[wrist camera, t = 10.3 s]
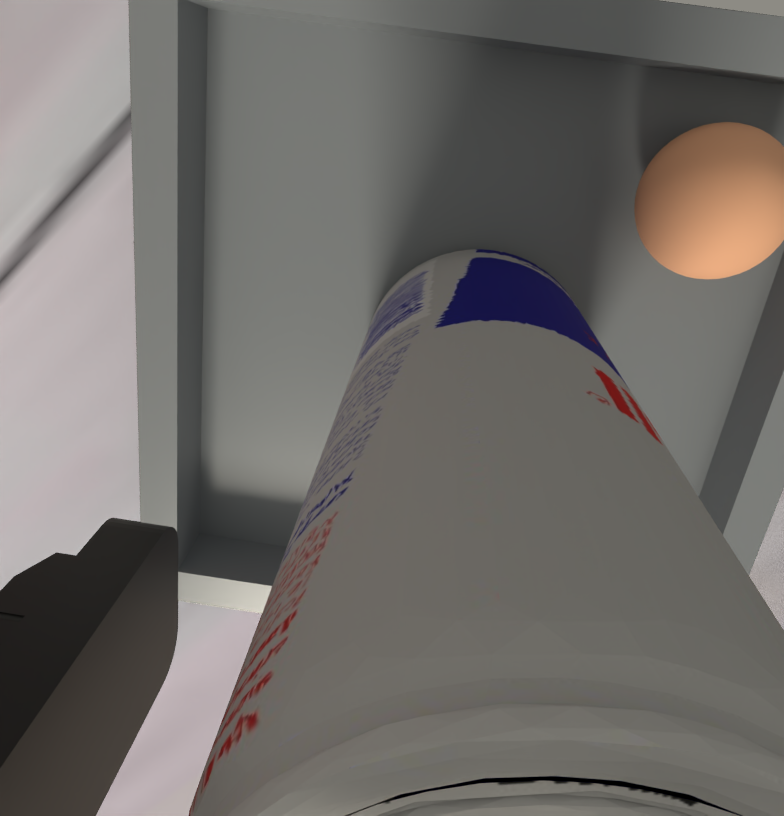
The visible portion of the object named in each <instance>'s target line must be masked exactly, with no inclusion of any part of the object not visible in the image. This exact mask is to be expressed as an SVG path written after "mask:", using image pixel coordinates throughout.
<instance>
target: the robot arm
mask: <svg viewBox="0 0 784 816" xmlns="http://www.w3.org/2000/svg"><path fill="white" fill-rule="evenodd" d="M177 632H178V535H177V531H176V530H175V528H174V527H169V526H163V525H156V524H150V523H143V522H137V521H130V520H124V519H118V518H111V519H109V520H107V521H106V522H105V523H104V524H103V525H102V526H101V527H100V528H99V530H98V531H97V532H96V533H95V534H94V535H93V537H92V538H91V539H90V540H89V541H88V542H87V544H86V545H85V546H84V547H83V548H82V550H81V551H80V552H79V553H78V554H77V555H76V556H75V555H68V554H62V553H55V554H53V555H51V556H50V557H48V558H46V559H44V560H43V561H41V562H39V563H37V564H36V565H34V566H32V567H30V568H28V569H27V570H25V571H23V572H21V573H20V574H18V575H16V576H14V577H13V578H12V579H11V580H10V581H9V582H8V583H7V584H6V586H5V587H4V588H3V589H2V590H1V591H0V816H96V814H97V812H98V810H99V808H100V806H101V804H102V802H103V800H104V798H105V796H106V795H107V793H108V791H109V789H110V787H111V785H112V783H113V781H114V779H115V777H116V775H117V773H118V771H119V769H120V767H121V765H122V763H123V761H124V759H125V757H126V755H127V753H128V751H129V750H130V748H131V746H132V744H133V742H134V740H135V738H136V736H137V734H138V732H139V730H140V728H141V726H142V724H143V722H144V720H145V718H146V716H147V714H148V712H149V710H150V708H151V706H152V705H153V703H154V701H155V699H156V697H157V695H158V693H159V691H160V689H161V687H162V685H163V683H164V681H165V679H166V676H167V674H168V671H169V668H170V665H171V662H172V659H173V655H174V651H175V646H176V640H177Z"/></svg>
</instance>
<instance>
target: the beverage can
mask: <svg viewBox="0 0 784 816" xmlns="http://www.w3.org/2000/svg"><path fill="white" fill-rule="evenodd" d="M189 816H784V630H783V629H782V627H781V625H780V624H779V622H778V621H777V619H776V618H775V616H774V615H773V613H772V611H771V610H770V608H769V607H768V605H767V604H766V602H765V600H764V599H763V597H762V596H761V594H760V593H759V591H758V590H757V588H756V586H755V585H754V583H753V582H752V580H751V579H750V577H749V575H748V574H747V572H746V571H745V569H744V568H743V566H742V564H741V563H740V561H739V560H738V558H737V557H736V555H735V554H734V552H733V550H732V549H731V547H730V546H729V544H728V543H727V541H726V539H725V538H724V536H723V535H722V533H721V532H720V530H719V528H718V527H717V525H716V524H715V522H714V521H713V519H712V518H711V516H710V514H709V513H708V511H707V510H706V508H705V507H704V505H703V503H702V502H701V500H700V499H699V497H698V496H697V494H696V492H695V491H694V489H693V488H692V486H691V485H690V483H689V482H688V480H687V478H686V477H685V475H684V474H683V472H682V471H681V469H680V467H679V466H678V464H677V463H676V461H675V460H674V458H673V457H672V455H671V453H670V452H669V450H668V449H667V447H666V446H665V444H664V442H663V441H662V439H661V438H660V436H659V435H658V433H657V431H656V430H655V428H654V427H653V425H652V424H651V422H650V421H649V419H648V417H647V416H646V414H645V413H644V411H643V410H642V408H641V406H640V405H639V403H638V402H637V400H636V399H635V397H634V395H633V394H632V392H631V391H630V389H629V388H628V386H627V385H626V383H625V381H624V380H623V378H622V377H621V375H620V374H619V372H618V370H617V369H616V367H615V366H614V364H613V363H612V361H611V360H610V358H609V356H608V355H607V353H606V352H605V350H604V349H603V347H602V345H601V344H600V342H599V341H598V339H597V338H596V336H595V334H594V333H593V331H592V330H591V328H590V327H589V325H588V324H587V322H586V320H585V319H584V317H583V316H582V314H581V313H580V311H579V309H578V308H577V306H576V305H575V303H574V302H573V300H572V299H571V297H570V296H569V294H568V293H567V292H566V290H565V289H564V288H563V287H562V286H561V285H560V283H559V282H558V281H557V280H556V279H555V278H553V277H552V276H551V275H550V274H549V273H548V272H546V271H545V270H543V269H542V268H540V267H539V266H537V265H536V264H534V263H532V262H530V261H528V260H526V259H524V258H521V257H519V256H516V255H513V254H509V253H506V252H501V251H495V250H485V249H471V250H462V251H455V252H451V253H447V254H443V255H440V256H438V257H435V258H433V259H430V260H428V261H426V262H424V263H422V264H420V265H418V266H417V267H415V268H414V269H412V270H411V271H409V272H408V273H407V274H406V275H404V276H403V277H402V278H400V279H399V280H398V282H397V283H396V284H395V285H394V286H393V287H392V288H391V289H390V290H389V291H388V292H387V294H386V295H385V296H384V298H383V299H382V301H381V302H380V304H379V306H378V308H377V310H376V311H375V313H374V316H373V318H372V321H371V323H370V326H369V328H368V331H367V334H366V336H365V339H364V342H363V345H362V347H361V350H360V353H359V355H358V358H357V361H356V363H355V366H354V369H353V371H352V374H351V377H350V379H349V382H348V385H347V387H346V390H345V393H344V395H343V398H342V401H341V404H340V406H339V409H338V412H337V414H336V417H335V420H334V422H333V425H332V428H331V430H330V433H329V436H328V438H327V441H326V444H325V446H324V449H323V452H322V454H321V457H320V460H319V462H318V465H317V468H316V471H315V473H314V476H313V479H312V481H311V484H310V487H309V489H308V492H307V495H306V497H305V500H304V503H303V505H302V508H301V511H300V513H299V516H298V519H297V521H296V524H295V527H294V530H293V532H292V535H291V538H290V540H289V543H288V546H287V548H286V551H285V554H284V556H283V559H282V562H281V564H280V567H279V570H278V572H277V575H276V578H275V580H274V583H273V586H272V588H271V591H270V594H269V597H268V599H267V602H266V605H265V607H264V610H263V613H262V615H261V618H260V621H259V623H258V626H257V629H256V631H255V634H254V637H253V639H252V642H251V645H250V647H249V650H248V653H247V656H246V658H245V661H244V664H243V666H242V669H241V672H240V674H239V677H238V680H237V682H236V685H235V688H234V690H233V693H232V696H231V698H230V701H229V704H228V706H227V709H226V712H225V714H224V717H223V720H222V723H221V725H220V728H219V731H218V733H217V736H216V739H215V741H214V744H213V747H212V749H211V752H210V755H209V757H208V760H207V763H206V765H205V768H204V771H203V773H202V776H201V779H200V782H199V785H198V788H197V791H196V794H195V796H194V799H193V802H192V805H191V808H190V811H189Z"/></svg>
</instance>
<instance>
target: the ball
mask: <svg viewBox="0 0 784 816" xmlns="http://www.w3.org/2000/svg"><path fill="white" fill-rule="evenodd" d="M634 213H635V222H636V227H637V231H638V234H639V236H640V239H641V241H642V243H643V244H644V246H645V248H646V249H647V250H648V252H649V253H650V254H651V255H652V257H653V258H654V259H656V260H657V261H658V262H659V263H660V264H661V265H663V266H664V267H666V268H667V269H669V270H671V271H673V272H675V273H677V274H680V275H683V276H686V277H690V278H696V279H720V278H726V277H730V276H733V275H737V274H740V273H742V272H744V271H747V270H749V269H751V268H753V267H754V266H756V265H758V264H759V263H761V262H762V261H764V260H765V259H766V258H767V257H769V256H770V255H771V254H772V253H773V252H774V251H775V250H776V249H777V248H778V247H779V246H780V244H781V243H782V242H783V240H784V147H783V145H782V144H781V143H780V142H779V141H777V140H776V139H775V138H774V137H772V136H771V135H770V134H768V133H766V132H765V131H763V130H761V129H759V128H756V127H753V126H750V125H746V124H742V123H735V122H720V123H712V124H707V125H702V126H699V127H696V128H693V129H691V130H689V131H687V132H685V133H683V134H681V135H679V136H678V137H676V138H675V139H673V140H672V141H670V142H669V143H668V144H667V145H665V146H664V147H663V148H662V149H661V150H660V151H659V152H658V153H657V154H656V155H655V156H654V158H653V159H652V160H651V162H650V163H649V164H648V166H647V168H646V169H645V171H644V173H643V175H642V177H641V179H640V182H639V185H638V188H637V191H636V197H635V206H634Z"/></svg>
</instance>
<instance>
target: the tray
mask: <svg viewBox="0 0 784 816" xmlns="http://www.w3.org/2000/svg"><path fill="white" fill-rule="evenodd" d="M129 42H130V86H131V129H132V172H133V216H134V259H135V302H136V346H137V389H138V432H139V475H140V519H141V522H143V523H150V524H156V525H163V526H169V527H174V528H175V530H176V531H177V535H178V601H184V602H190V603H197V604H203V605H210V606H216V607H223V608H229V609H236V610H242V611H249V612H255V613H263V610H264V607H265V605H266V602H267V599H268V597H269V594H270V591H271V588H272V586H273V583H274V580H275V578H276V575H277V572H278V570H279V567H280V564H281V562H282V559H283V556H284V554H285V551H286V548H287V546H288V543H289V540H290V538H291V535H292V532H293V530H294V527H295V524H296V521H297V519H298V516H299V513H300V511H301V508H302V505H303V503H304V500H305V497H306V495H307V492H308V489H309V487H310V484H311V481H312V479H313V476H314V473H315V471H316V468H317V465H318V462H319V460H320V457H321V454H322V452H323V449H324V446H325V444H326V441H327V438H328V436H329V433H330V430H331V428H332V425H333V422H334V420H335V417H336V414H337V412H338V409H339V406H340V404H341V401H342V398H343V395H344V393H345V390H346V387H347V385H348V382H349V379H350V377H351V374H352V371H353V369H354V366H355V363H356V361H357V358H358V355H359V353H360V350H361V347H362V345H363V342H364V339H365V336H366V334H367V331H368V328H369V326H370V323H371V321H372V318H373V316H374V313H375V311H376V310H377V308H378V306H379V304H380V302H381V301H382V299H383V298H384V296H385V295H386V294H387V292H388V291H389V290H390V289H391V288H392V287H393V286H394V285H395V284H396V283H397V282H398V280H399V279H400V278H402V277H403V276H404V275H406V274H407V273H408V272H409V271H411V270H412V269H414V268H415V267H417V266H418V265H420V264H422V263H424V262H426V261H428V260H430V259H433V258H435V257H438V256H440V255H443V254H447V253H451V252H455V251H462V250H471V249H485V250H495V251H501V252H506V253H509V254H513V255H516V256H519V257H521V258H524V259H526V260H528V261H530V262H532V263H534V264H536V265H537V266H539V267H540V268H542V269H543V270H545V271H546V272H548V273H549V274H550V275H551V276H552V277H553V278H555V279H556V280H557V281H558V282H559V283H560V285H561V286H562V287H563V288H564V289H565V290H566V292H567V293H568V294H569V296H570V297H571V299H572V300H573V302H574V303H575V305H576V306H577V308H578V309H579V311H580V313H581V314H582V316H583V317H584V319H585V320H586V322H587V324H588V325H589V327H590V328H591V330H592V331H593V333H594V334H595V336H596V338H597V339H598V341H599V342H600V344H601V345H602V347H603V349H604V350H605V352H606V353H607V355H608V356H609V358H610V360H611V361H612V363H613V364H614V366H615V367H616V369H617V370H618V372H619V374H620V375H621V377H622V378H623V380H624V381H625V383H626V385H627V386H628V388H629V389H630V391H631V392H632V394H633V395H634V397H635V399H636V400H637V402H638V403H639V405H640V406H641V408H642V410H643V411H644V413H645V414H646V416H647V417H648V419H649V421H650V422H651V424H652V425H653V427H654V428H655V430H656V431H657V433H658V435H659V436H660V438H661V439H662V441H663V442H664V444H665V446H666V447H667V449H668V450H669V452H670V453H671V455H672V457H673V458H674V460H675V461H676V463H677V464H678V466H679V467H680V469H681V471H682V472H683V474H684V475H685V477H686V478H687V480H688V482H689V483H690V485H691V486H692V488H693V489H694V491H695V492H696V494H697V496H698V497H699V499H700V500H701V502H702V503H703V505H704V507H705V508H706V510H707V511H708V513H709V514H710V516H711V518H712V519H713V521H714V522H715V524H716V525H717V527H718V528H719V530H720V532H721V533H722V535H723V536H724V538H725V539H726V541H727V543H728V544H729V546H730V547H731V549H732V550H733V552H734V554H735V555H736V557H737V558H738V560H739V561H740V563H741V564H742V566H743V568H744V569H745V571H746V572H747V574H748V575H749V574H750V571H751V569H752V566H753V564H754V561H755V559H756V556H757V554H758V551H759V549H760V546H761V544H762V541H763V539H764V536H765V534H766V531H767V528H768V526H769V523H770V521H771V518H772V516H773V513H774V511H775V508H776V506H777V503H778V501H779V498H780V496H781V493H782V491H783V488H784V240H783V242H782V243H781V244H780V246H779V247H778V248H777V249H776V250H775V251H774V252H773V253H772V254H771V255H770V256H769V257H767V258H766V259H765V260H764V261H762V262H761V263H759V264H758V265H756V266H754V267H753V268H751V269H749V270H747V271H744V272H742V273H740V274H737V275H733V276H730V277H726V278H720V279H696V278H690V277H686V276H683V275H680V274H677V273H675V272H673V271H671V270H669V269H667V268H666V267H664V266H663V265H661V264H660V263H659V262H658V261H657V260H656V259H654V258H653V257H652V255H651V254H650V253H649V252H648V250H647V249H646V248H645V246H644V244H643V243H642V241H641V239H640V236H639V234H638V231H637V227H636V222H635V213H634V206H635V197H636V191H637V188H638V185H639V182H640V179H641V177H642V175H643V173H644V171H645V169H646V168H647V166H648V164H649V163H650V162H651V160H652V159H653V158H654V156H655V155H656V154H657V153H658V152H659V151H660V150H661V149H662V148H663V147H664V146H665V145H667V144H668V143H669V142H670V141H672V140H673V139H675V138H676V137H678V136H679V135H681V134H683V133H685V132H687V131H689V130H691V129H693V128H696V127H699V126H702V125H707V124H712V123H720V122H735V123H742V124H746V125H750V126H753V127H756V128H759V129H761V130H763V131H765V132H766V133H768V134H770V135H771V136H772V137H774V138H775V139H776V140H777V141H779V142H780V143H781V144H782V145H783V147H784V17H781V16H774V15H765V14H758V13H750V12H743V11H735V10H727V9H720V8H712V7H705V6H697V5H689V4H681V3H673V2H666V1H659V0H129Z"/></svg>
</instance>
